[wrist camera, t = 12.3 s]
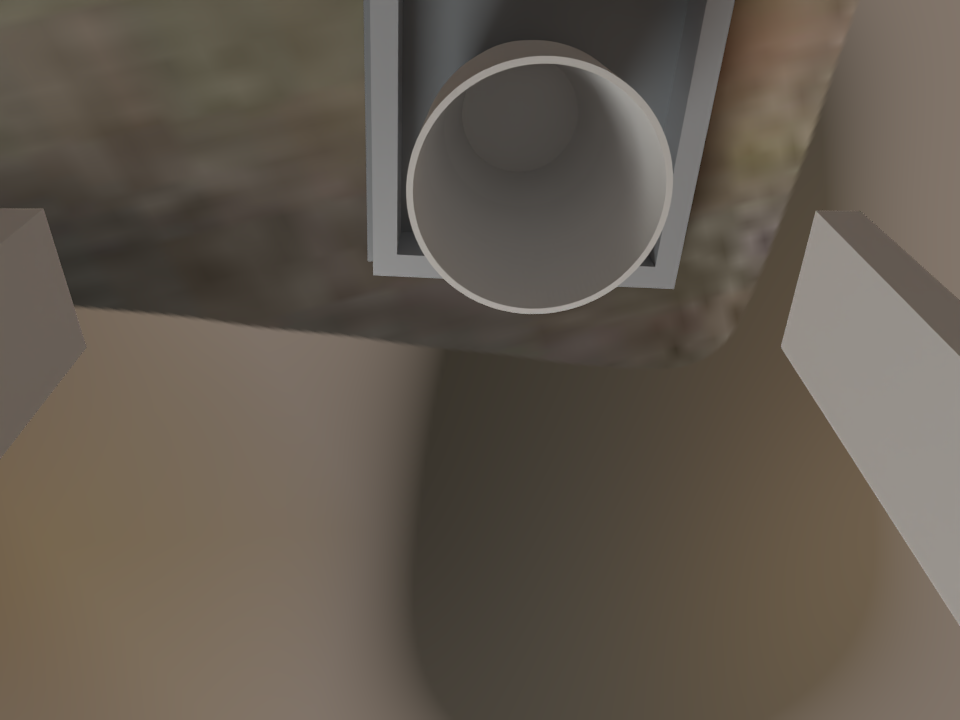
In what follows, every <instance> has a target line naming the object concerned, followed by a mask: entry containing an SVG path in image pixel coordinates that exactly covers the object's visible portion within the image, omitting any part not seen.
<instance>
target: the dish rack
mask: <svg viewBox="0 0 960 720" xmlns="http://www.w3.org/2000/svg"><path fill="white" fill-rule="evenodd" d="M734 2H735V0H364V59H365V120H366V182H367V244H368V261H373V275H380V276H402V277H423V278H442V277H441V276H440V275H439V273H438V272H437V271H436V270H435V269H434V268H433V266H432V265H431V264H430V263H429V261H428V260H427V258H426V257H425V255H424V254H423V252H422V250H421V248H420V246H419V244H418V242H417V240H416V238H415V235H414V233H413V230H412V227H411V223H410V219H409V215H408V209H407V200H406V181H407V173H408V167H409V162H410V158H411V154H412V151H413V148H414V146H415V143H416V141H417V138H418V136H419V133H420V131H421V129H422V126H423V124H424V122H425V119H426V117H427V114H428V112H429V110H430V107H431V105H432V103H433V101H434V99H435V98H436V96H437V94H438V93H439V91H440V90H441V88H442V87H443V85H444V84H445V83H446V82H447V81H448V79H449V78H450V77H451V76H452V75H453V74H454V73H455V72H456V71H457V70H458V69H459V68H460V67H462V66H463V65H464V64H465V63H467V62H468V61H469V60H471V59H472V58H474V57H476V56H477V55H479V54H481V53H482V52H484V51H486V50H488V49H490V48H492V47H495V46H497V45H500V44H503V43H507V42H512V41H520V40H545V41H552V42H557V43H561V44H565V45H568V46H571V47H574V48H576V49H578V50H581V51H583V52H585V53H586V54H588V55H590V56H591V57H593V58H594V59H596V60H597V61H599V62H600V63H601V64H602V65H604V66H605V67H606V68H608V69H609V70H610V71H611V72H613V73H614V74H615V75H617V76H618V77H619V78H620V79H622V80H623V81H624V82H626V83H627V84H628V85H629V86H630V87H632V88H633V89H634V90H635V91H636V92H637V93H638V94H639V95H640V96H641V97H642V98H643V100H644V101H645V102H646V103H647V104H648V106H649V107H650V108H651V110H652V111H653V113H654V114H655V116H656V118H657V119H658V121H659V123H660V125H661V127H662V129H663V132H664V134H665V137H666V140H667V143H668V146H669V150H670V154H671V160H672V168H673V190H672V198H671V204H670V208H669V212H668V216H667V219H666V222H665V225H664V227H663V230H662V232H661V234H660V236H659V238H658V240H657V242H656V244H655V245H654V247H653V249H652V250H651V252H650V253H649V255H648V256H647V257H646V259H645V260H644V261H643V262H642V264H641V265H640V266H639V267H638V268H637V269H636V270H635V271H634V272H633V273H632V274H631V275H630V276H629V277H628V278H627V279H626V280H625V281H623V282H622V283H621V284H620V285H618V286H619V287H641V288H663V289H674V286H675V281H676V277H677V272H678V267H679V263H680V258H681V253H682V248H683V244H684V239H685V234H686V229H687V225H688V220H689V215H690V210H691V206H692V201H693V196H694V192H695V187H696V182H697V177H698V173H699V168H700V163H701V158H702V154H703V149H704V144H705V139H706V135H707V130H708V125H709V121H710V116H711V111H712V106H713V102H714V97H715V92H716V87H717V83H718V78H719V73H720V69H721V64H722V59H723V54H724V50H725V45H726V40H727V35H728V31H729V26H730V21H731V16H732V12H733V7H734Z"/></svg>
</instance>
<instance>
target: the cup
mask: <svg viewBox="0 0 960 720" xmlns="http://www.w3.org/2000/svg"><path fill="white" fill-rule="evenodd" d="M672 190H673V168H672V160H671V154H670V150H669V146H668V143H667V140H666V137H665V134H664V132H663V129H662V127H661V125H660V123H659V121H658V119H657V118H656V116H655V114H654V113H653V111H652V110H651V108H650V107H649V106H648V104H647V103H646V102H645V101H644V100H643V98H642V97H641V96H640V95H639V94H638V93H637V92H636V91H635V90H634V89H633V88H632V87H630V86H629V85H628V84H627V83H626V82H624V81H623V80H622V79H620V78H619V77H618V76H617V75H615V74H614V73H613V72H611V71H610V70H609V69H608V68H606V67H605V66H604V65H602V64H601V63H600V62H599V61H597V60H596V59H594V58H593V57H591V56H590V55H588V54H586V53H585V52H583V51H581V50H578V49H576V48H574V47H571V46H568V45H565V44H561V43H557V42H552V41H545V40H520V41H512V42H507V43H503V44H500V45H497V46H495V47H492V48H490V49H488V50H486V51H484V52H482V53H481V54H479V55H477V56H476V57H474V58H472V59H471V60H469V61H468V62H467V63H465V64H464V65H463V66H462V67H460V68H459V69H458V70H457V71H456V72H455V73H454V74H453V75H452V76H451V77H450V78H449V79H448V81H447V82H446V83H445V84H444V85H443V87H442V88H441V90H440V91H439V93H438V94H437V96H436V98H435V99H434V101H433V103H432V105H431V107H430V110H429V112H428V114H427V117H426V119H425V122H424V124H423V126H422V129H421V131H420V133H419V136H418V138H417V141H416V143H415V146H414V148H413V151H412V154H411V158H410V162H409V167H408V173H407V181H406V200H407V209H408V215H409V219H410V223H411V227H412V230H413V233H414V235H415V238H416V240H417V242H418V244H419V246H420V248H421V250H422V252H423V254H424V255H425V257H426V258H427V260H428V261H429V263H430V264H431V265H432V266H433V268H434V269H435V270H436V271H437V272H438V273H439V275H440V276H441V277H442V278H443V279H444V280H446V281H447V282H448V283H449V284H450V285H451V286H453V287H454V288H455V289H457V290H458V291H459V292H461V293H463V294H464V295H466V296H467V297H469V298H471V299H473V300H475V301H477V302H479V303H482V304H484V305H487V306H489V307H492V308H495V309H499V310H503V311H508V312H514V313H523V314H545V313H553V312H559V311H564V310H568V309H572V308H575V307H579V306H581V305H584V304H587V303H589V302H591V301H593V300H595V299H597V298H599V297H601V296H603V295H605V294H606V293H608V292H610V291H611V290H613V289H614V288H616V287H617V286H618V285H620V284H621V283H622V282H623V281H625V280H626V279H627V278H628V277H629V276H630V275H631V274H632V273H633V272H634V271H635V270H636V269H637V268H638V267H639V266H640V265H641V264H642V262H643V261H644V260H645V259H646V257H647V256H648V255H649V253H650V252H651V250H652V249H653V247H654V245H655V244H656V242H657V240H658V238H659V236H660V234H661V232H662V230H663V227H664V225H665V222H666V219H667V216H668V212H669V208H670V204H671V198H672Z"/></svg>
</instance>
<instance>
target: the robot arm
mask: <svg viewBox="0 0 960 720" xmlns="http://www.w3.org/2000/svg"><path fill="white" fill-rule="evenodd" d="M781 348H782V350H783V351H784V353H785V355H786V356H787V357H788V359H789V361H790V362H791V364H792V365H793V367H794V369H795V370H796V372H797V373H798V375H799V376H800V378H801V379H802V381H803V383H804V384H805V386H806V387H807V389H808V390H809V392H810V394H811V395H812V397H813V398H814V400H815V401H816V403H817V404H818V406H819V407H820V409H821V411H822V412H823V414H824V415H825V417H826V418H827V420H828V421H829V423H830V424H831V426H832V428H833V429H834V431H835V432H836V434H837V436H838V437H839V439H840V440H841V442H842V443H843V445H844V446H845V448H846V450H847V451H848V453H849V454H850V456H851V457H852V459H853V461H854V462H855V464H856V465H857V467H858V468H859V470H860V471H861V473H862V474H863V476H864V477H865V479H866V481H867V482H868V484H869V486H870V487H871V489H872V490H873V491H874V493H875V495H876V496H877V498H878V500H879V501H880V503H881V504H882V506H883V507H884V509H885V510H886V512H887V514H888V515H889V517H890V518H891V520H892V521H893V523H894V524H895V526H896V528H897V529H898V531H899V532H900V534H901V535H902V537H903V539H904V540H905V541H906V543H907V545H908V546H909V548H910V549H911V551H912V552H913V554H914V556H915V557H916V559H917V560H918V562H919V563H920V565H921V566H922V568H923V570H924V571H925V573H926V574H927V576H928V577H929V579H930V580H931V582H932V584H933V585H934V587H935V588H936V590H937V591H938V593H939V595H940V596H941V597H942V599H943V601H944V602H945V604H946V606H947V607H948V609H949V610H950V612H951V613H952V615H953V617H954V618H955V619H956V621H957V623H958V624H959V626H960V300H959V299H958V298H957V297H956V296H954V295H953V294H952V293H951V292H950V291H949V290H948V289H947V288H945V287H944V286H943V285H942V284H941V283H940V282H939V281H938V280H936V279H935V278H934V277H933V276H932V275H931V274H930V273H929V272H928V271H926V270H925V269H924V268H923V267H922V266H921V265H920V264H919V263H918V262H917V261H915V260H914V259H913V258H912V257H911V256H910V255H909V254H908V253H907V252H905V251H904V250H903V249H902V248H901V247H900V246H899V245H898V244H897V243H895V242H894V241H893V240H892V239H891V238H890V237H889V236H888V235H887V234H885V233H884V232H883V231H882V230H881V229H880V228H878V226H877V225H875V224H874V223H873V222H872V221H871V220H870V219H869V218H867V216H865V215H864V214H863V213H862V212H861V211H816V212H815V216H814V220H813V224H812V228H811V232H810V236H809V239H808V244H807V247H806V251H805V255H804V259H803V263H802V267H801V271H800V275H799V278H798V282H797V286H796V290H795V294H794V298H793V302H792V306H791V309H790V313H789V317H788V321H787V325H786V329H785V333H784V337H783V341H782V345H781ZM85 349H86V344H85V341H84V338H83V334H82V331H81V328H80V325H79V322H78V319H77V315H76V312H75V309H74V306H73V302H72V299H71V296H70V293H69V290H68V286H67V283H66V280H65V277H64V274H63V270H62V267H61V264H60V261H59V258H58V254H57V251H56V248H55V245H54V242H53V238H52V235H51V232H50V229H49V225H48V222H47V219H46V216H45V213H44V209H43V208H0V458H1V457H2V456H3V454H4V453H5V452H6V451H7V449H8V448H9V447H10V446H11V444H12V443H13V442H14V440H15V439H16V438H17V436H18V435H19V434H20V433H21V431H22V430H23V429H24V427H25V426H26V425H27V423H28V422H29V421H30V419H31V418H32V417H33V416H34V415H35V413H36V412H37V411H38V409H39V408H40V407H41V405H42V404H43V403H44V402H45V400H46V399H47V398H48V396H49V395H50V394H51V393H52V391H53V390H54V389H55V387H56V386H57V384H58V383H59V382H60V381H61V380H62V378H63V377H64V376H65V374H66V373H67V372H68V371H69V369H70V368H71V367H72V365H73V364H74V363H75V362H76V360H77V359H78V357H79V356H80V355H81V354H82V352H83V351H84V350H85Z"/></svg>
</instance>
